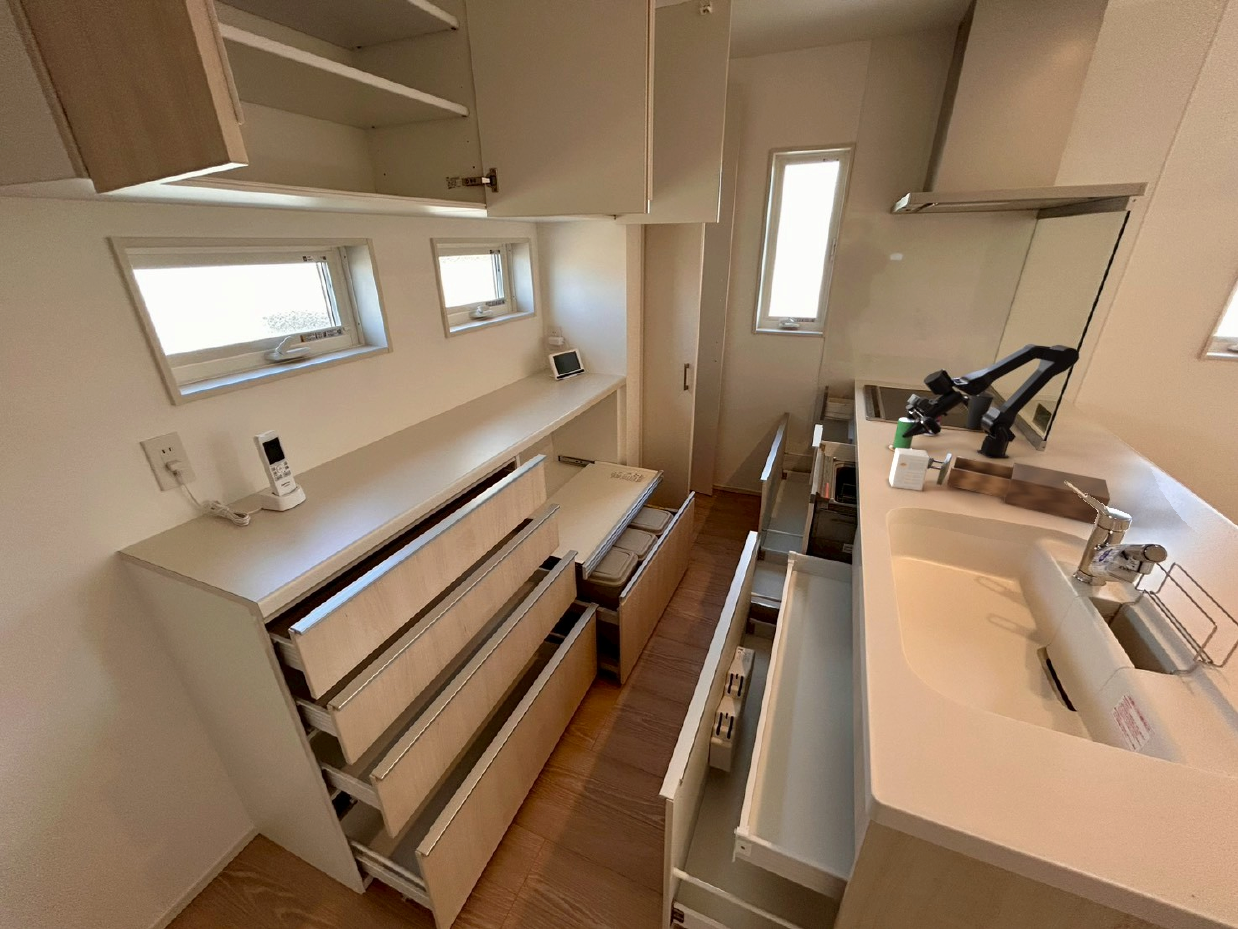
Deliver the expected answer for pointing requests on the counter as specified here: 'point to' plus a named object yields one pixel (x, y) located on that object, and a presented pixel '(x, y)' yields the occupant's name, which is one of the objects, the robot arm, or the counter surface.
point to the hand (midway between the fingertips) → (899, 434)
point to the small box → (909, 468)
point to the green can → (900, 430)
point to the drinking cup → (978, 409)
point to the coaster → (893, 448)
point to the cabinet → (1055, 492)
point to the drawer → (975, 475)
